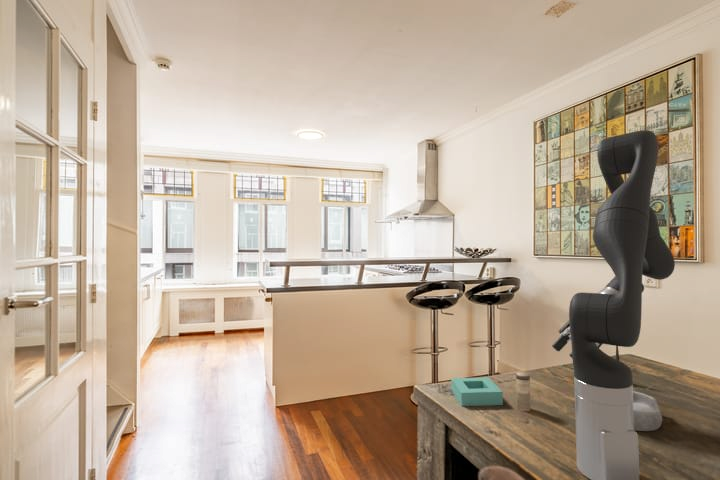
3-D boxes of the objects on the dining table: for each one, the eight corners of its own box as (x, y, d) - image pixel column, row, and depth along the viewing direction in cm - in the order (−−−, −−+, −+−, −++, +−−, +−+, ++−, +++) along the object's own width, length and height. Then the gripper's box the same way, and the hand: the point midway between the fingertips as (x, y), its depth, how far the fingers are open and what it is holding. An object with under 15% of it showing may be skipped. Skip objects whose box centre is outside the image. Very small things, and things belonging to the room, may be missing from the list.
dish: (648, 410, 96) (648, 390, 96) (678, 437, 83) (677, 414, 83) (584, 405, 100) (584, 386, 100) (603, 430, 87) (602, 408, 87)
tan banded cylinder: (533, 411, 97) (532, 375, 97) (520, 411, 97) (519, 376, 97) (527, 405, 100) (526, 371, 100) (514, 406, 100) (513, 371, 100)
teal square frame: (502, 404, 101) (502, 391, 101) (461, 406, 101) (461, 392, 101) (488, 389, 112) (488, 377, 112) (451, 390, 112) (451, 378, 112)
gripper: (579, 294, 106) (539, 337, 106) (613, 302, 92) (568, 351, 91) (599, 313, 106) (559, 355, 106) (636, 324, 92) (590, 372, 91)
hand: (563, 353), depth 99 cm, fingers open, 8 cm apart
